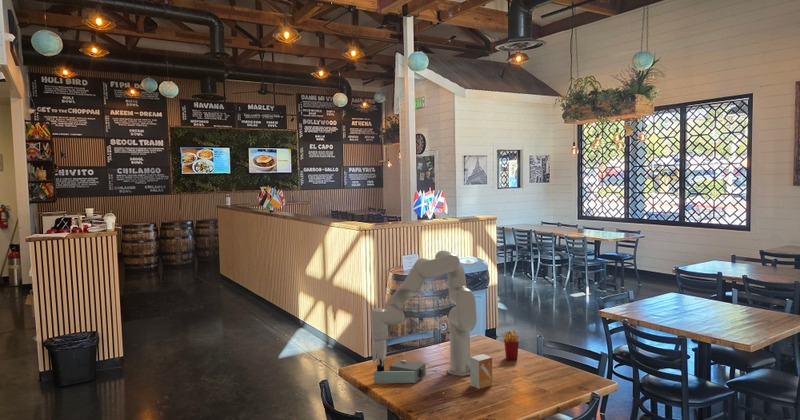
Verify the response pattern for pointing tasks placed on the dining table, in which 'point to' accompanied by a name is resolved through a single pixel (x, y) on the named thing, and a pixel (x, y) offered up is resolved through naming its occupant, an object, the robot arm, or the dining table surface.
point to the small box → (481, 371)
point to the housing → (410, 368)
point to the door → (394, 376)
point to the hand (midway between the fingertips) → (380, 374)
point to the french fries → (511, 346)
